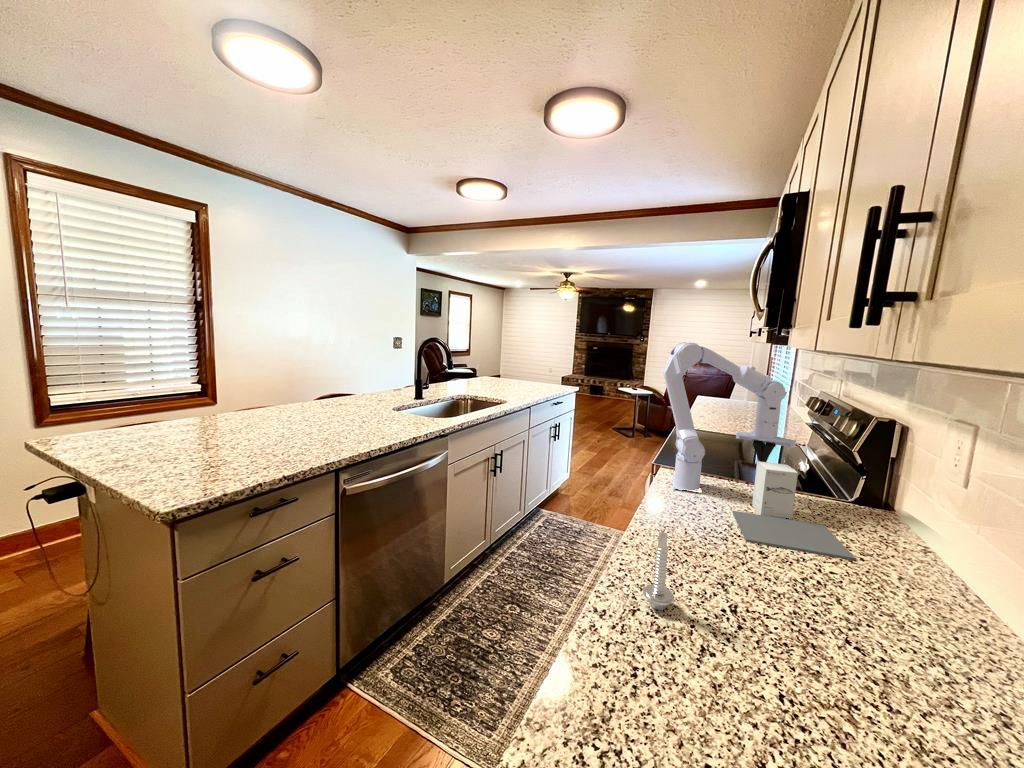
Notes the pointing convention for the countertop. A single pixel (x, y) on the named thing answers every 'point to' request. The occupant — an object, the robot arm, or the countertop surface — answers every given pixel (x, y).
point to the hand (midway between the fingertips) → (761, 466)
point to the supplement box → (774, 489)
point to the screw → (659, 578)
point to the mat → (790, 534)
